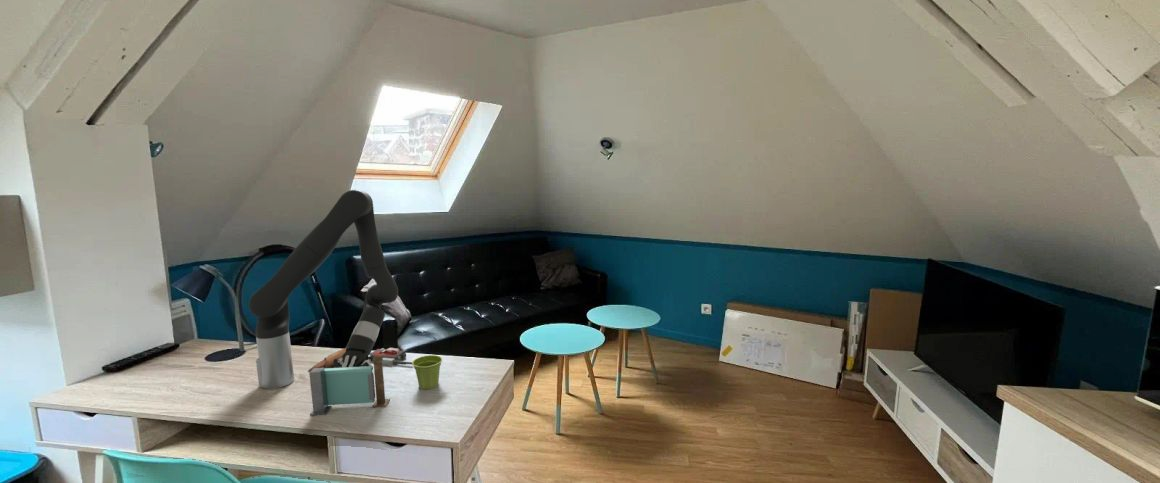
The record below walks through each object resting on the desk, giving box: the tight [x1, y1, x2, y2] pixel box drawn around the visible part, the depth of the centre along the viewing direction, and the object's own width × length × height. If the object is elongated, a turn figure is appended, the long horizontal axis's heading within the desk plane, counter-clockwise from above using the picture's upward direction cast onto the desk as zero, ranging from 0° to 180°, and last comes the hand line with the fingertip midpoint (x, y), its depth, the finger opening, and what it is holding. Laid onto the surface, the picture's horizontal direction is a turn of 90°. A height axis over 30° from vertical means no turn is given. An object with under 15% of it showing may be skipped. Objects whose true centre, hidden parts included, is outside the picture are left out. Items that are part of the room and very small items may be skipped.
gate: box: [325, 365, 376, 406], centre depth 143 cm, size 16×2×11 cm, turn 96°
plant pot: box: [411, 354, 443, 390], centre depth 157 cm, size 9×9×9 cm
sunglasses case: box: [307, 347, 346, 373], centre depth 176 cm, size 18×7×7 cm
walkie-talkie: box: [368, 347, 413, 366], centre depth 178 cm, size 9×4×20 cm
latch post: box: [308, 368, 333, 417], centre depth 140 cm, size 4×4×13 cm
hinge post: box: [372, 355, 391, 409], centre depth 144 cm, size 4×4×16 cm
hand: (340, 391), depth 145 cm, fingers closed
